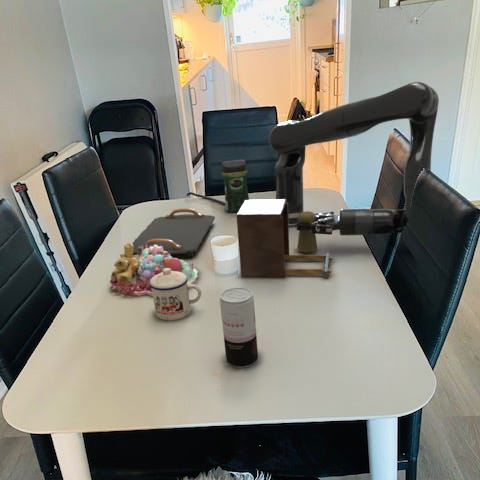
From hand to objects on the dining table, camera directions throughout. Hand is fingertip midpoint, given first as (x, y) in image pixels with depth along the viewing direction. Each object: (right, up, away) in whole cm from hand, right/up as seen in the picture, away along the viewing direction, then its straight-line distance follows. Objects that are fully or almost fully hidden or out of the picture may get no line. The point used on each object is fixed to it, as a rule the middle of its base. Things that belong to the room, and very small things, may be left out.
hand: (298, 223), depth 147 cm
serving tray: (-39, -2, +21) cm, 45 cm away
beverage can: (-17, -37, -45) cm, 60 cm away
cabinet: (-10, -14, -5) cm, 18 cm away
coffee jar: (-18, +14, +46) cm, 52 cm away
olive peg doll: (+3, -7, +3) cm, 8 cm away
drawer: (+2, -14, -8) cm, 16 cm away
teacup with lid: (-32, -27, -24) cm, 48 cm away
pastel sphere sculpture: (-41, -17, -6) cm, 45 cm away
